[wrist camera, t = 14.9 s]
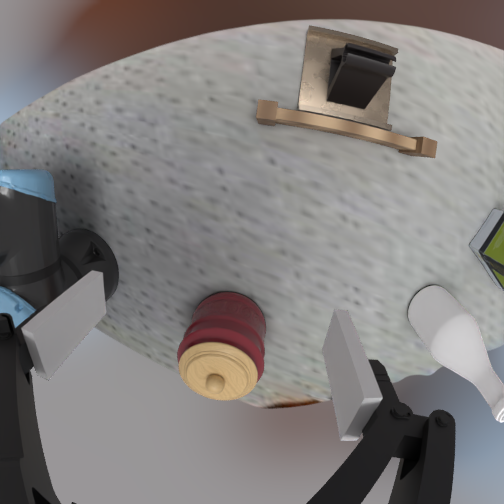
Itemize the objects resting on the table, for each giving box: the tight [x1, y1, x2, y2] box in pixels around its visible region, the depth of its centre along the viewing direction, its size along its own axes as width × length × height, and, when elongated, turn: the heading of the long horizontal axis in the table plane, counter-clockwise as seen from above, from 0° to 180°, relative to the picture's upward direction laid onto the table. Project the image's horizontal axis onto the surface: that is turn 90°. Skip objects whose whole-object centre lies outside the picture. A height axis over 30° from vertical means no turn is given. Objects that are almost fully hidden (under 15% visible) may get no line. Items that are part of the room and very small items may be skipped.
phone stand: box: [326, 42, 396, 109], centre depth 32 cm, size 9×6×12 cm, turn 172°
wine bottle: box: [408, 285, 504, 422], centre depth 35 cm, size 10×10×30 cm
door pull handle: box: [256, 100, 437, 158], centre depth 37 cm, size 25×2×8 cm, turn 83°
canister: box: [177, 292, 266, 400], centre depth 44 cm, size 13×13×18 cm
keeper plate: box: [297, 26, 398, 131], centre depth 37 cm, size 14×14×3 cm
